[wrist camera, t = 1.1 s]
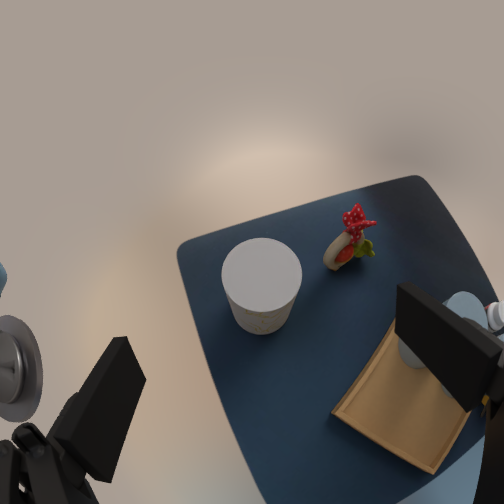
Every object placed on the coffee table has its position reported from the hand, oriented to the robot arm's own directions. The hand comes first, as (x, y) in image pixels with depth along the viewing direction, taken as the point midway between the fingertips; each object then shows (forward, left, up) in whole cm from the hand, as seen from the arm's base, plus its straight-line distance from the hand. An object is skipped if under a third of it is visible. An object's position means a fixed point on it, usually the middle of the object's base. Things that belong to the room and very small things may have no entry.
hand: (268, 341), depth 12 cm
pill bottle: (+27, -27, -25) cm, 46 cm away
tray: (+12, -22, -25) cm, 36 cm away
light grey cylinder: (+7, +6, -25) cm, 27 cm away
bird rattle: (+21, +1, -25) cm, 33 cm away
